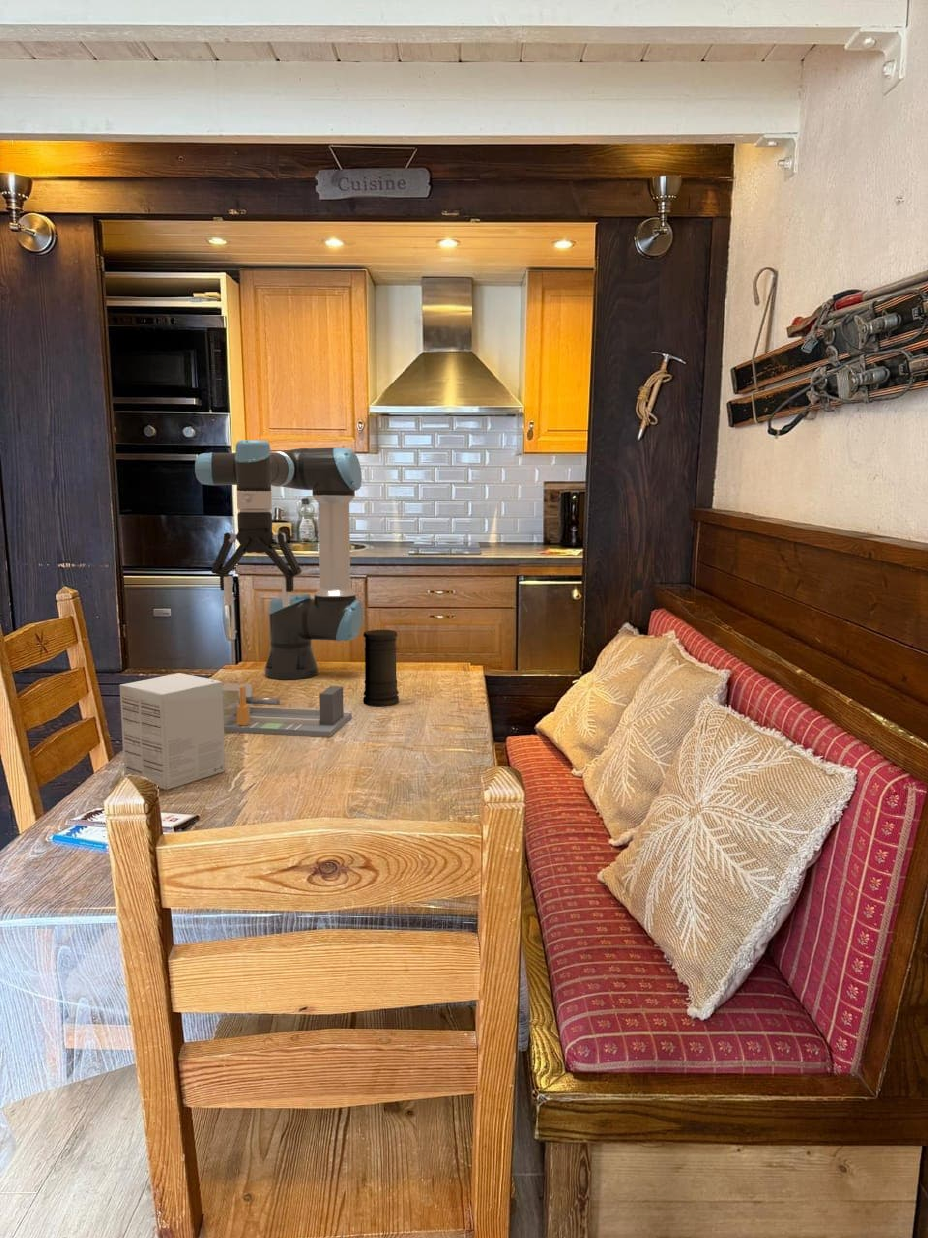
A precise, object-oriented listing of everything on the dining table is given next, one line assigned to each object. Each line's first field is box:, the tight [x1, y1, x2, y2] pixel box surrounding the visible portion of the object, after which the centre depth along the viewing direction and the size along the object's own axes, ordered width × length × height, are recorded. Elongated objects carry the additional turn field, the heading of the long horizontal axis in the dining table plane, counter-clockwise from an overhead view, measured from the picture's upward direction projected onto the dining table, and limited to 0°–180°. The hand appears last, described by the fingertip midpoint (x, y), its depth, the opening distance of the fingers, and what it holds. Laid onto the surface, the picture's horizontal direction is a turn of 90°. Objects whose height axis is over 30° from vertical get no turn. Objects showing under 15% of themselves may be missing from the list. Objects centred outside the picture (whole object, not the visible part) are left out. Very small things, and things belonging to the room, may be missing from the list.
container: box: [362, 629, 400, 707], centre depth 209 cm, size 9×9×18 cm
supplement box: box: [118, 672, 227, 791], centre depth 154 cm, size 13×13×18 cm
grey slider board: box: [223, 685, 353, 738], centre depth 189 cm, size 16×32×8 cm, turn 81°
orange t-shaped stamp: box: [237, 686, 250, 725], centre depth 184 cm, size 2×2×8 cm
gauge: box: [222, 682, 281, 716], centre depth 189 cm, size 12×14×6 cm
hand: (257, 605), depth 189 cm, fingers open, 13 cm apart
